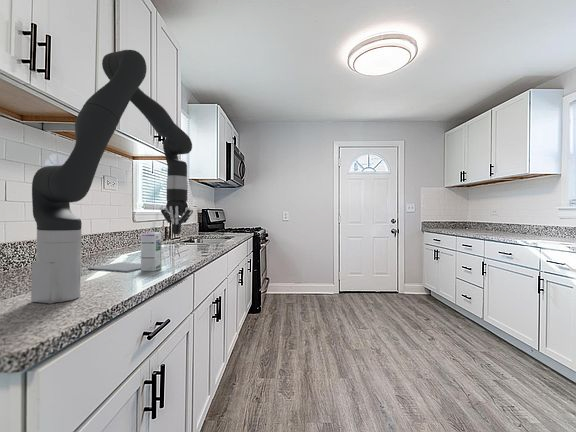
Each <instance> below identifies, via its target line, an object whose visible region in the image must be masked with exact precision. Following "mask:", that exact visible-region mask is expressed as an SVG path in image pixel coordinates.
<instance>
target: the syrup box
mask: <svg viewBox="0 0 576 432" xmlns="http://www.w3.org/2000/svg"><path fill="white" fill-rule="evenodd" d="M140 264H141V270H140V271H141V272H156V271H158V270H161V269H162V232H159V231H153V232H152V231H151V232H143V233H142V232H141V233H140Z"/></svg>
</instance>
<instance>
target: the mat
mask: <svg viewBox="0 0 576 432" xmlns="http://www.w3.org/2000/svg"><path fill="white" fill-rule="evenodd" d="M88 269H94V270H93V271H101V270H105V271H104V272H114V271H116V272H117V273H132V272H137V271H141V263H131V262H116V263H109V264H103V265H96V266H93V267H87V270H88Z"/></svg>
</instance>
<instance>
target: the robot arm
mask: <svg viewBox="0 0 576 432" xmlns="http://www.w3.org/2000/svg"><path fill="white" fill-rule="evenodd" d="M101 61H102V62H101V65H102V66H101V67H102V69H103V70H102V71H103V72H104V74H105V75H106V77H107V78H108V79H109V81H108V82H107V83H106V84H104V85H103V86H102V87H100V89H98V90H97V91H96V92H94V93H93V94H92V95H91V96H90V97H89V98H88V99H87V100H86V101H85V103H84V104H83V105H82V107H81V109H80V111H79V112H78V114H77V116H76V119H75V121H74V132H75V135H74V136H75V144H74V147H73V149H72V151H71V152H70V155H69V157H68V158H67V159H66V161H65V162H64V163H63V164H62V165H60V164H59V165H46V166H43V167H41V168H39V169H37V170H36V172H35V173H34V175H33V177H32V182H31V202H32V216H33V218H34V220H35V222H36V246H35V247H36V249H35V250H36V252H35V253H36V256H35V258H36V259H35V261H32V263H31V282H30V283H31V287H30V288H31V290H30V291H31V292H30V295H31V296H30V299H31V300H30V301H31V302H32V303H33V302H35V303H43V304H55V303H60V302H68V301H72V300H76V299H78V298H80V297H81V277H82V276H81V275H82V273H81V269H82V267H81V265H82V261H81V260H82V219H81V218H80V217H78V216H76V215H75V214H74V213H73V212H72V211H71V208H70V207H71V206H70V203H77V202H79V201H82V200H83V199H84V198H85V197H86V196H87V195H88V193H89V190H90V189H91V186H92V184H93V181H94V178H95V175H96V173H97V172H96V171H97V169H98V167H99V163H100V161H101V159H102V156H103V155H104V154H105V153H104V152H105V151H106V149H107V146H108V144H109V142H110V140H111V138H112V136H113V135H114V133H115V131H116V129H117V127H118V125H119V123H120V120H121V119H122V116H123V114H124V112H125V110H126V109H127V107H128V105H129V103H130V102H131V103H132V104H133V105H134V106H135V108H137V109H138V110H139V112H140V113H141V114H142V115H143V116H144V117H145V119H146V120H147V121H148V122H149V123H150V124H149V125H151V126H152V128H153V129H154V130H155V132H156V133H157V135H159V136H160V137H162V138H164V141H163V144H162V149H163V152H164V153H163V154H164V158H165V161H166V164H167V178H166V201H167V202H166V205H165V207H164V209H163V208H162V209H161V210H160V213H161V214H162V215H163V217H164V218H165V220H166V221H167V223H169V224H170V225H171V226H172V228H171V232H172V235H174V236H175V235H180V234H181V232H182V224H185V223H187V221H188V220H189V219H190V217H191V216H192V214H193V213H194V210H193V209H190V208H189V205H188V203H187V202H188V165H187V164H188V163H187V162H186V161H184V160H180V159H179V157H178V155H187V154H189V153H191V151H192V149H193V143H192V140H191V138H190V136H189V135H188V134H187V133H186V132H185V131H184V130H183V129H182V128H180V126H179V125H177V124H176V123H175V122H174V121H173V119H172V117H171V115H170V114H169V112H168V111H167V110H166V109H165V108H164V106H162V105H161V104H160V103H158V101H156V100H155V99H153V98H152V97H150V96H149V95H148V94H147V93H145V92H144V90H142V89H141V88H140V86H141V84H142V83H143V81H144V80H145V78H146V75H147V68H148V67H147V63H146V60H145V58H144V56H143V55H142V54H141V53H140V52H139V51H137V50H135V49H123V50H122V49H121V50H118V51H113V52H110V53H107V54H106V55H104V56H103V58H102V60H101Z"/></svg>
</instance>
